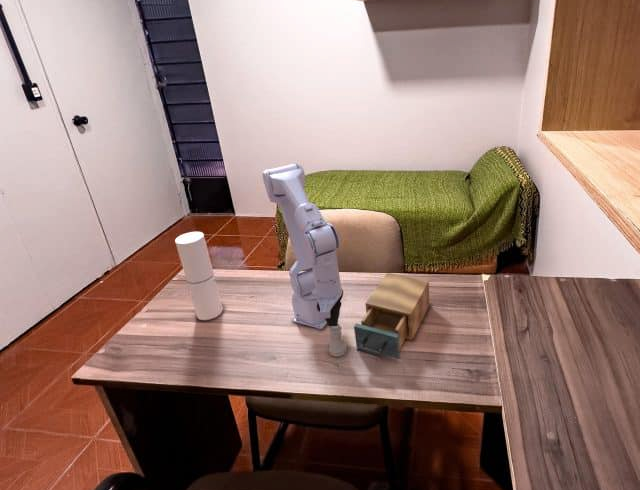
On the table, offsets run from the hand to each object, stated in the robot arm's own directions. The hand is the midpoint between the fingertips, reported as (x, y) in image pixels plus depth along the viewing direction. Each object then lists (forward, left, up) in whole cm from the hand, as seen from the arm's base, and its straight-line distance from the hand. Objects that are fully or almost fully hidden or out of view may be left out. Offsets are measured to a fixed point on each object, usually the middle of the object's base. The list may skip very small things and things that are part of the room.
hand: (333, 321), depth 95 cm
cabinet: (+10, +17, -9) cm, 22 cm away
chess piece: (0, 0, -10) cm, 10 cm away
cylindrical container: (-44, 0, -10) cm, 45 cm away
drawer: (+10, +7, -8) cm, 15 cm away
